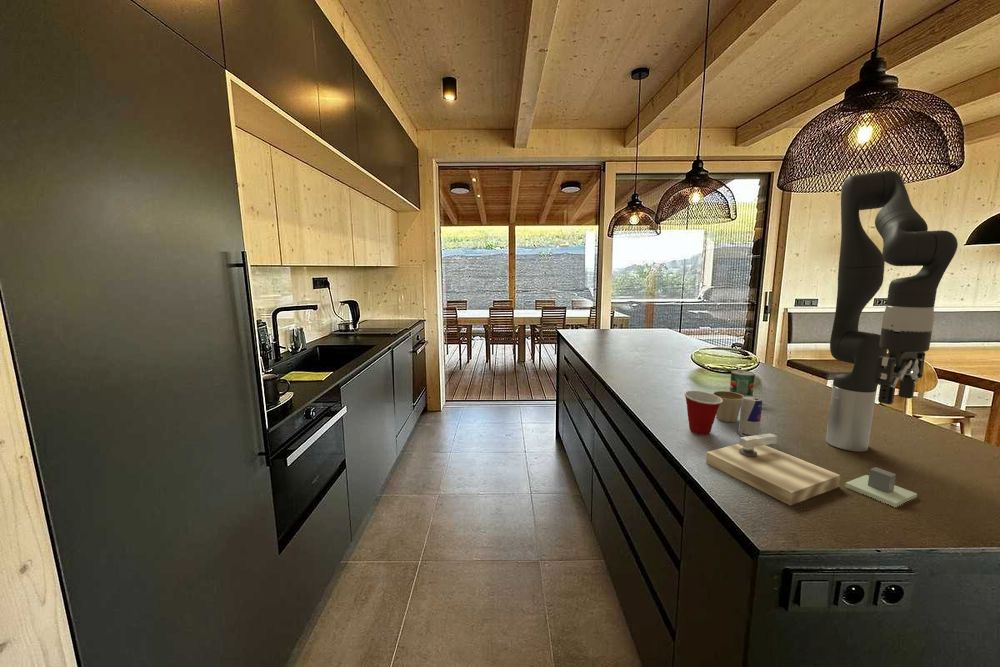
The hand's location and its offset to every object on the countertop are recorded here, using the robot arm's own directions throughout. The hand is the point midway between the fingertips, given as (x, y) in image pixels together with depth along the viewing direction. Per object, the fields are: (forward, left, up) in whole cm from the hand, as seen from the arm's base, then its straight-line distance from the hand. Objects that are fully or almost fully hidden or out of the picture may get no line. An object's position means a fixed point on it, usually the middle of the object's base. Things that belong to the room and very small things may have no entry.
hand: (895, 400), depth 86 cm
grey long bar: (+12, -21, -18) cm, 30 cm away
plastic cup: (+8, -41, -22) cm, 47 cm away
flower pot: (-9, -45, -22) cm, 51 cm away
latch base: (+15, -16, -22) cm, 31 cm away
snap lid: (0, 0, -22) cm, 22 cm away
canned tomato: (-33, -57, -22) cm, 70 cm away
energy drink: (-3, -33, -22) cm, 40 cm away
